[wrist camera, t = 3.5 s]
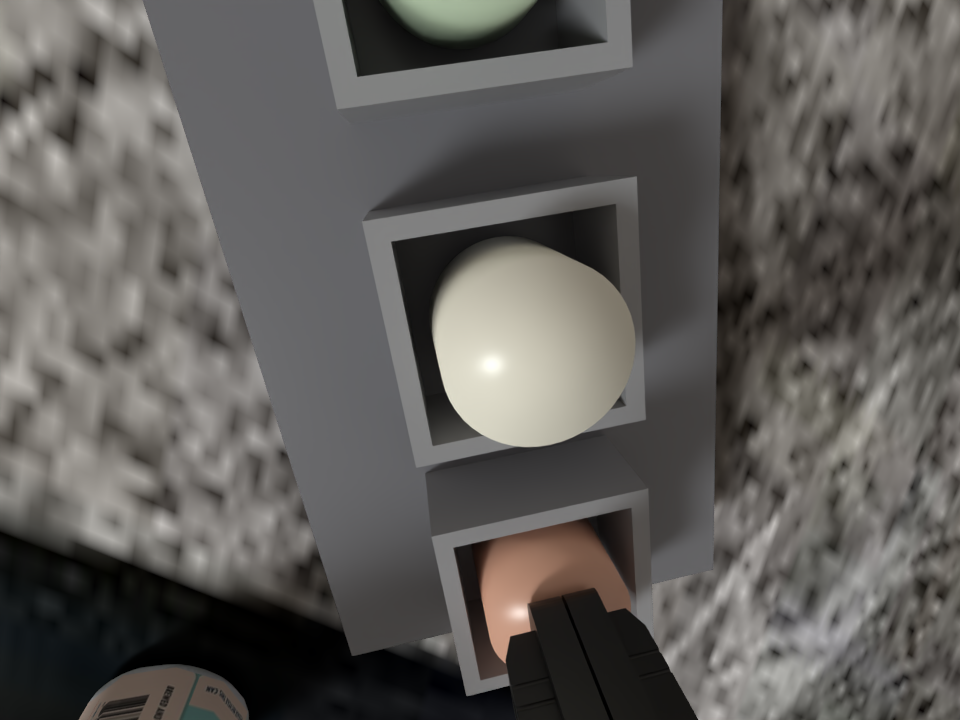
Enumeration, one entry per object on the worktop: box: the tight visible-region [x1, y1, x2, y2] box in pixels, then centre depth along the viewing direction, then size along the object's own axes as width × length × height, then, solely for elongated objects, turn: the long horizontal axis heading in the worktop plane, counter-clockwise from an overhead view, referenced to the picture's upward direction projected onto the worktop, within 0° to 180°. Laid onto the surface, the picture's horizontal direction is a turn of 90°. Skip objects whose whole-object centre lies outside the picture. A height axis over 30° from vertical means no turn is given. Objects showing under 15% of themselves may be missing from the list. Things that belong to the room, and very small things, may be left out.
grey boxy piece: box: [143, 0, 723, 696], centre depth 12 cm, size 11×19×4 cm, turn 8°
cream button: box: [429, 236, 636, 447], centre depth 10 cm, size 3×3×3 cm
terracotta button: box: [471, 518, 631, 663], centre depth 13 cm, size 3×3×3 cm
